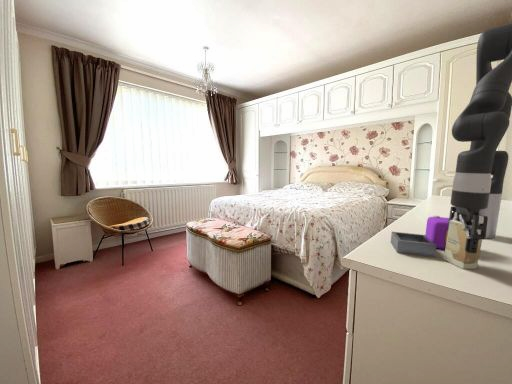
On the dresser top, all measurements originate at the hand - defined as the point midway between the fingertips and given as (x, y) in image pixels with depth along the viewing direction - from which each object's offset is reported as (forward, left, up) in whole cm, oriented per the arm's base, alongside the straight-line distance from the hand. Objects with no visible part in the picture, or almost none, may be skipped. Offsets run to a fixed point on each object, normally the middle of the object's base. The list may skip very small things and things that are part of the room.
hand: (462, 247), depth 64 cm
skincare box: (0, 0, -5) cm, 5 cm away
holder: (-8, -10, -5) cm, 14 cm away
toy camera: (-16, +3, -5) cm, 17 cm away
